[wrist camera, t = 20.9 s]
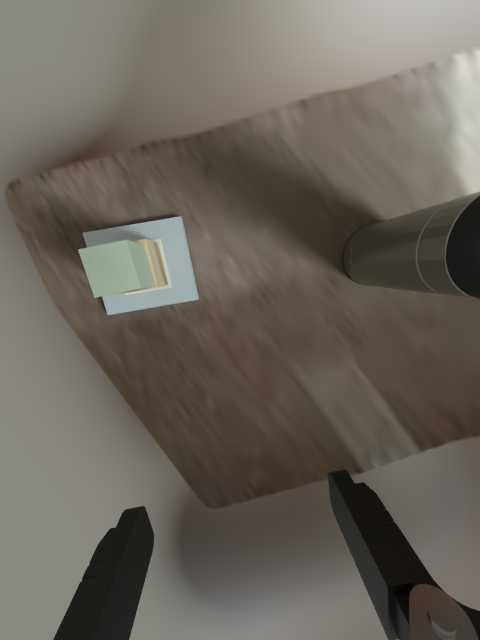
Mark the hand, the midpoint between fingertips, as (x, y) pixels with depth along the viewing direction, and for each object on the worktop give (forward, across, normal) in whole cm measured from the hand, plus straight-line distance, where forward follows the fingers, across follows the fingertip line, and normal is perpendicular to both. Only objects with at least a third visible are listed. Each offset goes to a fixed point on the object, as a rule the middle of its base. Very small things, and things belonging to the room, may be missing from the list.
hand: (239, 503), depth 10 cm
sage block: (+22, +11, -12) cm, 27 cm away
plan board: (+28, +11, -12) cm, 32 cm away
